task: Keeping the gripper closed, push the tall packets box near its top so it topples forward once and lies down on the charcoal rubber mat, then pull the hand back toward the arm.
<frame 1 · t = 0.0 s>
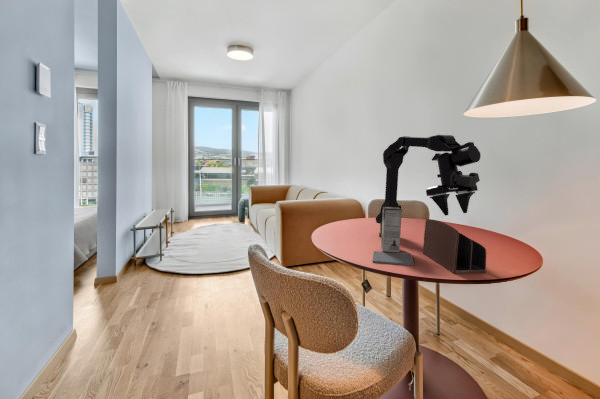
hand: (456, 214, 97), 15 cm above the table, tool pointing down, fingers open, 9 cm apart
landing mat: (392, 258, 99), on the table
coffee box: (389, 250, 108), on the table
letter holder: (451, 263, 94), on the table
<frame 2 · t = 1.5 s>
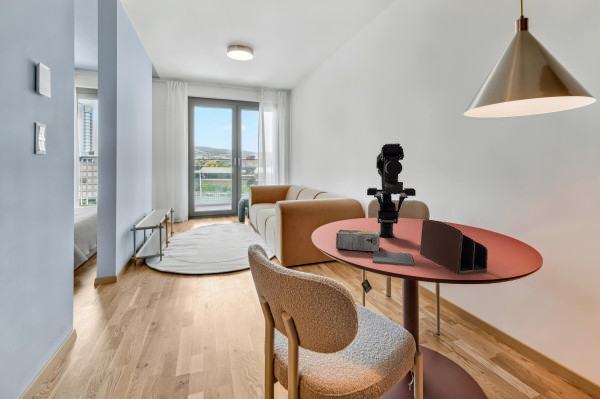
hand: (390, 212, 117), 13 cm above the table, tool pointing down, fingers open, 6 cm apart
coffee box: (379, 241, 109), point 3 cm above the table, touching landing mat
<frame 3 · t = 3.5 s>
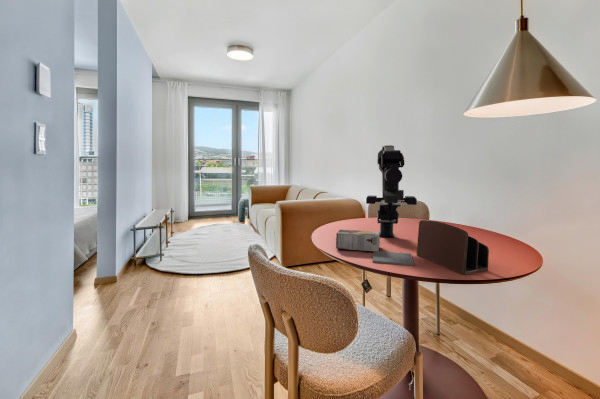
hand: (390, 221, 113), 10 cm above the table, tool pointing down, fingers closed
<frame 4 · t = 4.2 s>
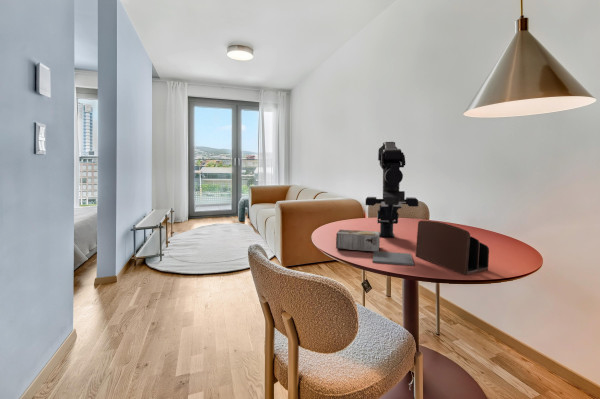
hand: (390, 223, 108), 10 cm above the table, tool pointing down, fingers closed
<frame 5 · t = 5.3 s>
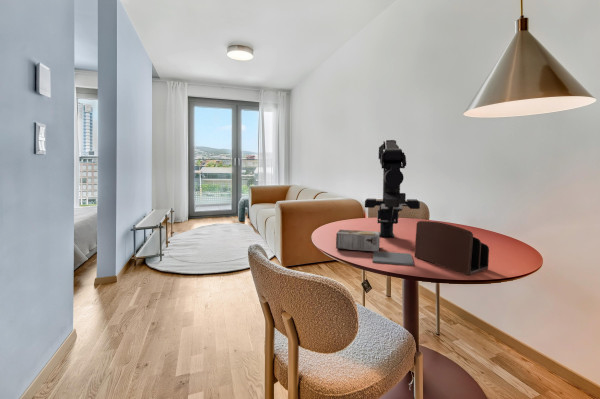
hand: (390, 226, 104), 10 cm above the table, tool pointing down, fingers closed
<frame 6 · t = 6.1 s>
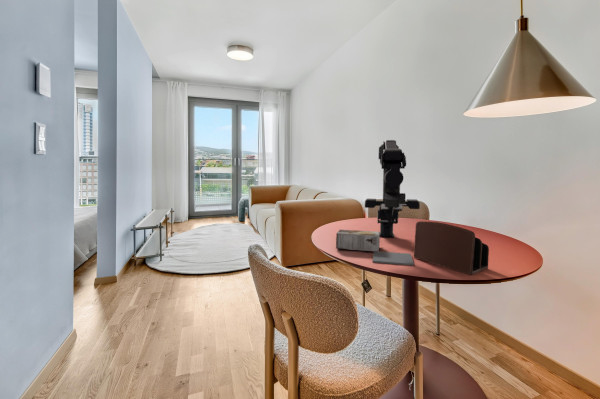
hand: (390, 226, 104), 10 cm above the table, tool pointing down, fingers closed
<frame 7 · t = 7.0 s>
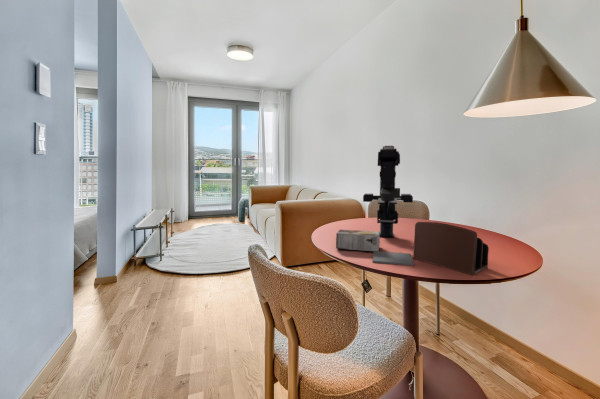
hand: (386, 219, 114), 11 cm above the table, tool pointing down, fingers closed
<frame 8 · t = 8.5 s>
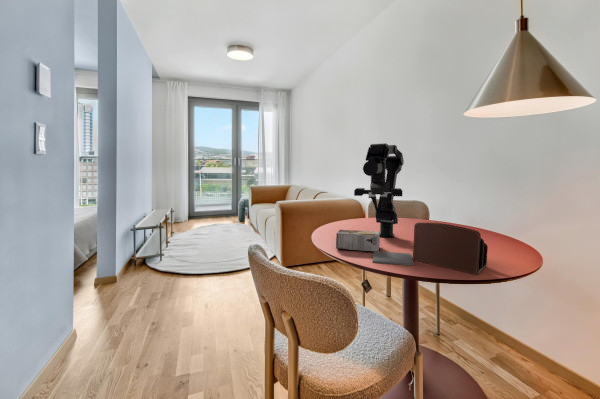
hand: (377, 212, 116), 13 cm above the table, tool pointing down, fingers closed
at the end: coffee box tilted 90°; coffee box inside the target area (7.1 cm from its centre), point 3.4 cm above the table; coffee box touching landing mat, table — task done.
